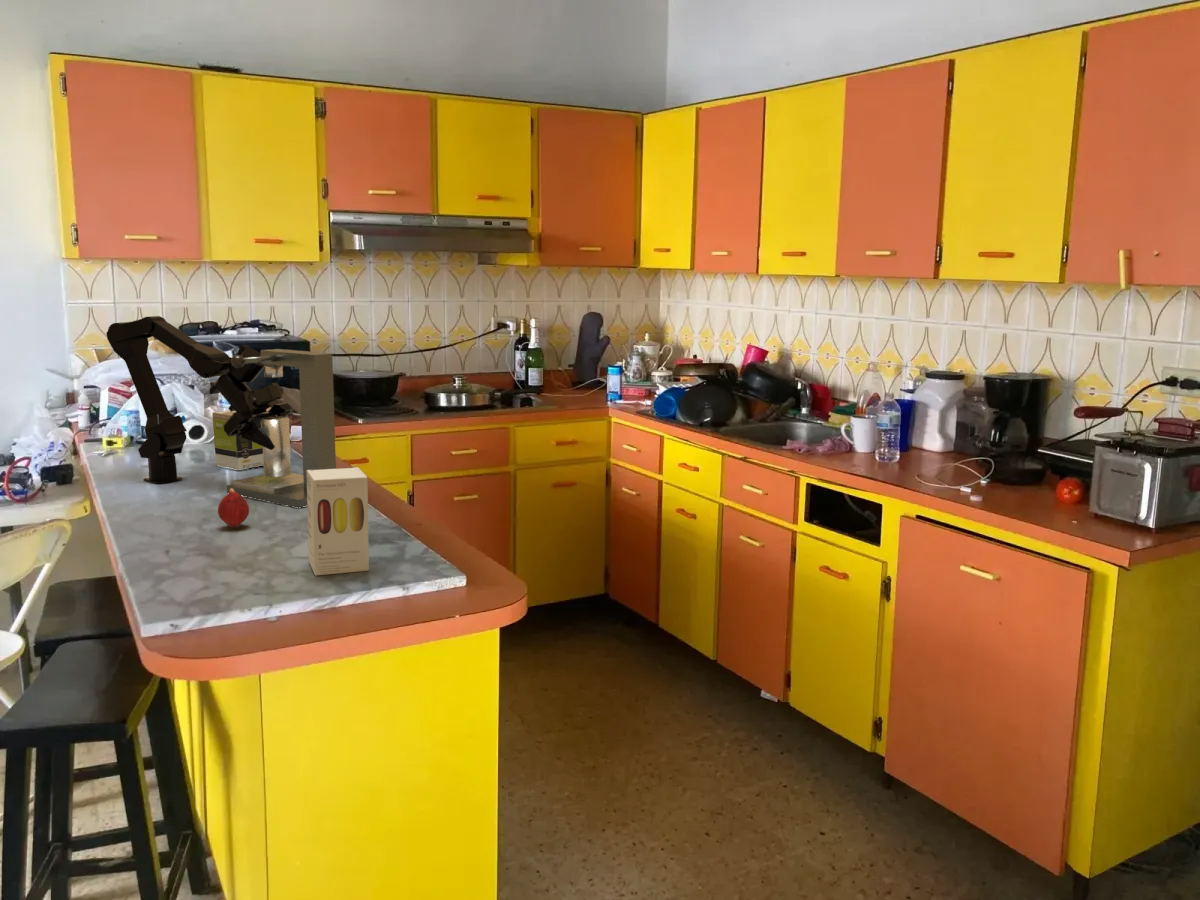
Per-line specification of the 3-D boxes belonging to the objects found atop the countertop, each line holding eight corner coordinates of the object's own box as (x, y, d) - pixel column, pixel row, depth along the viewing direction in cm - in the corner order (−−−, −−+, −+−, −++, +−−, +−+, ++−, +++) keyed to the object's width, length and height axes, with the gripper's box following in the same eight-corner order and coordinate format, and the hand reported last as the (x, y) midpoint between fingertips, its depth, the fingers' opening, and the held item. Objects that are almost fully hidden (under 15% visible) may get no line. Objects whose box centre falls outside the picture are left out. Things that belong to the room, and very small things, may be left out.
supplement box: (314, 576, 167) (310, 479, 164) (307, 561, 175) (303, 469, 172) (371, 570, 170) (368, 475, 167) (361, 556, 179) (359, 465, 176)
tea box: (264, 458, 267) (261, 404, 264) (287, 463, 261) (285, 408, 258) (214, 467, 255) (211, 410, 252) (237, 472, 249) (234, 414, 246)
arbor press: (204, 498, 220) (196, 351, 214) (283, 481, 238) (277, 345, 232) (278, 514, 207) (271, 358, 201) (355, 495, 226) (350, 352, 220)
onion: (256, 526, 198) (254, 487, 196) (234, 532, 193) (232, 493, 191) (234, 522, 200) (232, 484, 199) (212, 529, 195) (210, 490, 194)
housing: (261, 476, 223) (258, 419, 221) (266, 471, 229) (264, 415, 227) (288, 476, 224) (286, 419, 222) (293, 471, 230) (291, 415, 228)
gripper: (231, 376, 215) (276, 429, 214) (284, 368, 232) (325, 418, 231) (203, 409, 219) (247, 462, 217) (257, 399, 236) (298, 448, 235)
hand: (281, 446), depth 225 cm, fingers closed on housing, 6 cm apart
